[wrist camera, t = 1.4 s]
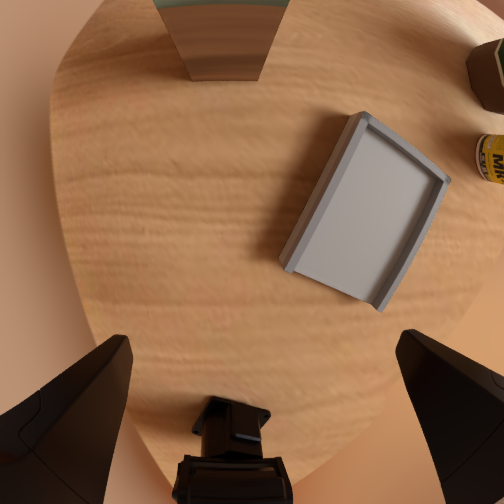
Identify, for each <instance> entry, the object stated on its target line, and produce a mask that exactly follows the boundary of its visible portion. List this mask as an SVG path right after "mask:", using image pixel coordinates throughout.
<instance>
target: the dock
mask: <svg viewBox="0 0 504 504" xmlns="http://www.w3.org/2000/svg"><path fill="white" fill-rule="evenodd" d="M450 181H451V178H449V177H448V176H447V175H446V174H445V173H444V172H443V171H442V170H441V169H440V168H438V167H437V166H436V165H435V164H434V163H433V162H431V161H430V160H429V159H428V158H427V157H426V156H424V155H423V154H422V153H421V152H420V151H418V150H417V149H416V148H415V147H413V146H412V145H411V144H410V143H408V142H407V141H406V140H405V139H403V138H402V137H401V136H399V135H398V134H397V133H395V132H394V131H393V130H391V129H390V128H389V127H387V126H386V125H384V124H383V123H382V122H380V121H379V120H377V119H376V118H374V117H373V116H371V115H370V114H369V113H367V112H366V111H362V112H359V113H356V114H353V115H350V117H349V119H348V121H347V123H346V125H345V127H344V129H343V131H342V133H341V135H340V137H339V139H338V142H337V144H336V146H335V148H334V150H333V152H332V154H331V156H330V158H329V160H328V162H327V164H326V166H325V168H324V170H323V172H322V174H321V176H320V178H319V180H318V182H317V184H316V186H315V188H314V190H313V192H312V194H311V196H310V198H309V200H308V202H307V204H306V206H305V208H304V210H303V212H302V213H301V215H300V217H299V219H298V221H297V223H296V225H295V227H294V229H293V231H292V233H291V235H290V237H289V239H288V241H287V242H286V244H285V246H284V248H283V250H282V252H281V254H280V256H279V258H278V259H279V261H280V263H281V265H282V267H283V269H284V271H287V272H289V273H291V274H292V273H293V271H296V272H298V273H301V274H303V275H305V276H307V277H310V278H312V279H314V280H317V281H319V282H321V283H323V284H326V285H328V286H330V287H332V288H335V289H337V290H339V291H342V292H344V293H346V294H348V295H351V296H353V297H355V298H357V299H360V300H362V301H364V302H367V303H369V304H371V305H372V306H373V307H374V308H375V309H376V310H377V311H379V312H383V310H384V309H385V307H386V305H387V304H388V302H389V301H390V299H391V297H392V296H393V294H394V292H395V291H396V289H397V287H398V286H399V284H400V282H401V280H402V279H403V277H404V275H405V274H406V272H407V270H408V268H409V266H410V265H411V263H412V261H413V259H414V257H415V255H416V253H417V252H418V250H419V248H420V246H421V244H422V242H423V240H424V238H425V236H426V234H427V232H428V230H429V228H430V226H431V224H432V222H433V219H434V217H435V215H436V213H437V211H438V209H439V206H440V204H441V202H442V200H443V197H444V195H445V193H446V190H447V188H448V185H449V183H450Z"/></svg>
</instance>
